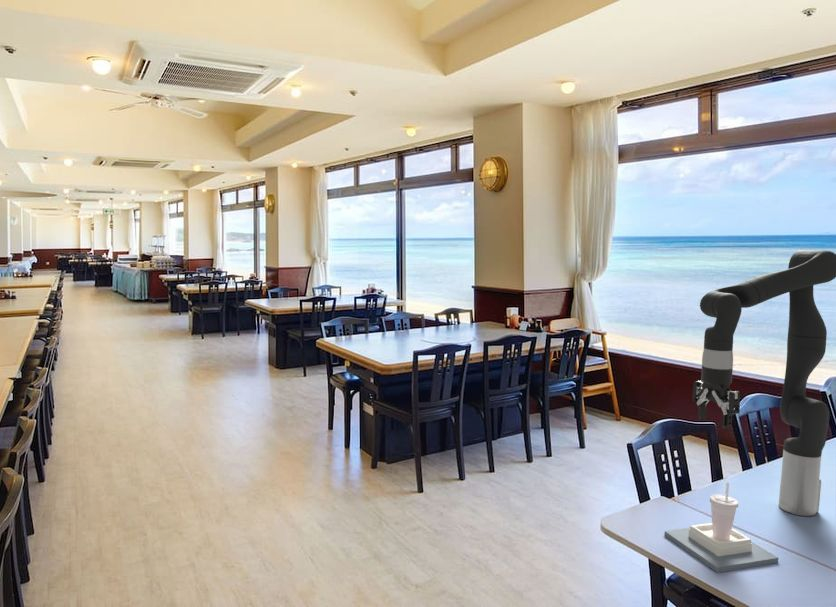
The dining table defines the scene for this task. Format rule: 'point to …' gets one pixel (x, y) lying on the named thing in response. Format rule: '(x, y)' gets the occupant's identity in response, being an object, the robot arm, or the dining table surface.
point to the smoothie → (723, 514)
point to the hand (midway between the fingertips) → (714, 423)
